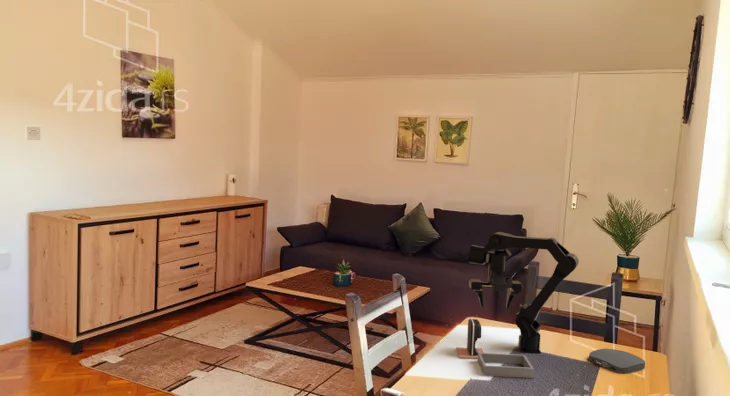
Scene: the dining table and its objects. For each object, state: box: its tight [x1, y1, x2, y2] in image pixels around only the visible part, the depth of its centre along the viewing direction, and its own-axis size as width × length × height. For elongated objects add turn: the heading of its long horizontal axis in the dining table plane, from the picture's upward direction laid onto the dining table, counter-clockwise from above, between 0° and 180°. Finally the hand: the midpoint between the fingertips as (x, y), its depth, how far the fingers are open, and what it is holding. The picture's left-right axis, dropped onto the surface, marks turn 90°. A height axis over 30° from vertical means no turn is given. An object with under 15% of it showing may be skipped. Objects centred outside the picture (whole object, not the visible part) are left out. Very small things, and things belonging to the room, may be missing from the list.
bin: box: [476, 352, 535, 379], centre depth 174 cm, size 16×12×3 cm
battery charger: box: [466, 318, 482, 356], centre depth 186 cm, size 7×4×11 cm, turn 178°
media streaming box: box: [588, 348, 646, 374], centre depth 182 cm, size 15×15×3 cm
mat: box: [455, 346, 485, 360], centre depth 186 cm, size 9×9×1 cm
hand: (494, 308), depth 198 cm, fingers open, 9 cm apart
